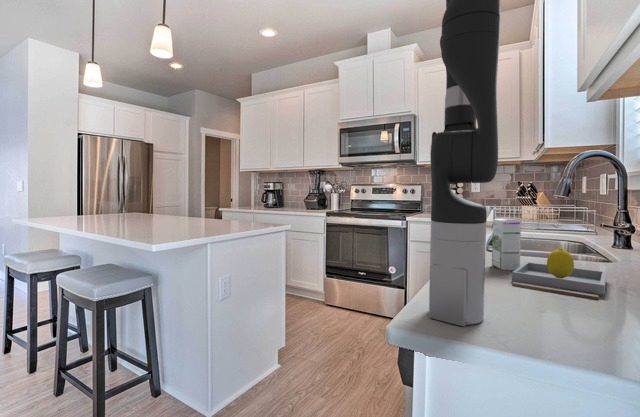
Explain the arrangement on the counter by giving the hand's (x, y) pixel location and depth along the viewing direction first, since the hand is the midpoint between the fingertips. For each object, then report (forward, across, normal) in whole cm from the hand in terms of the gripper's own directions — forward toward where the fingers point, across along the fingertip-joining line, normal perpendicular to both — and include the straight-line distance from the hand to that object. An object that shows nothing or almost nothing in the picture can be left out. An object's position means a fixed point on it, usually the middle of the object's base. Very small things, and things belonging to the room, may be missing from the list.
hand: (458, 170), depth 88 cm
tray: (+28, +21, +13) cm, 37 cm away
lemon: (+28, +21, +13) cm, 37 cm away
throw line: (+28, +21, +2) cm, 35 cm away
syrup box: (+28, +7, +21) cm, 36 cm away
